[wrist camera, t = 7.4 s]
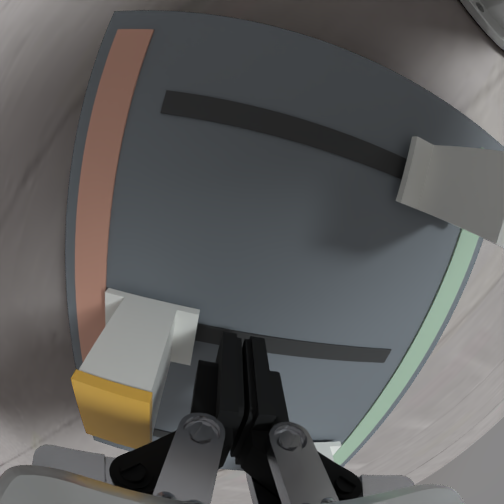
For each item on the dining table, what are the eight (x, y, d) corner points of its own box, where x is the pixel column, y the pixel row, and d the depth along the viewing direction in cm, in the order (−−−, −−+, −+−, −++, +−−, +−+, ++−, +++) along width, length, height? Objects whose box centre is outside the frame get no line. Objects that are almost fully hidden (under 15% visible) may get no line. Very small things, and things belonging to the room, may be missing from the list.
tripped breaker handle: (200, 308, 11) (182, 410, 6) (191, 360, 12) (175, 457, 7) (108, 286, 11) (46, 368, 6) (109, 340, 12) (64, 424, 7)
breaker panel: (471, 144, 13) (505, 147, 10) (333, 443, 21) (341, 469, 18) (135, 34, 10) (113, 10, 7) (104, 413, 18) (93, 440, 15)
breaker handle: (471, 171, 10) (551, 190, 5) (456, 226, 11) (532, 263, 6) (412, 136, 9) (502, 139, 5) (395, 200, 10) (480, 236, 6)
